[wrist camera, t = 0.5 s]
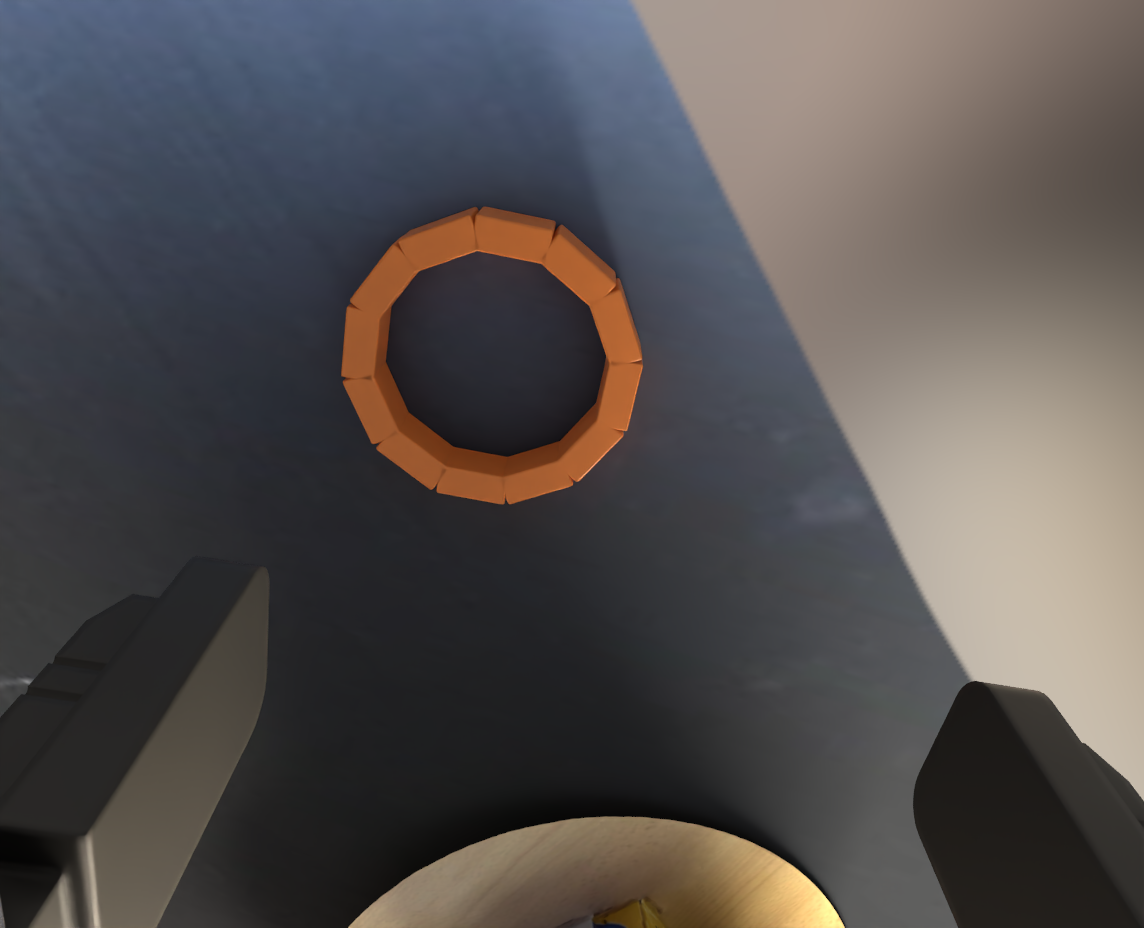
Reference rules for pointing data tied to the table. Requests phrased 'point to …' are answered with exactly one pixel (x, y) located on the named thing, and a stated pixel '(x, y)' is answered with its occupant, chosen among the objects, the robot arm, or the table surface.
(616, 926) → the plate with stacked boxes
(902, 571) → the table surface
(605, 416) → the ring
